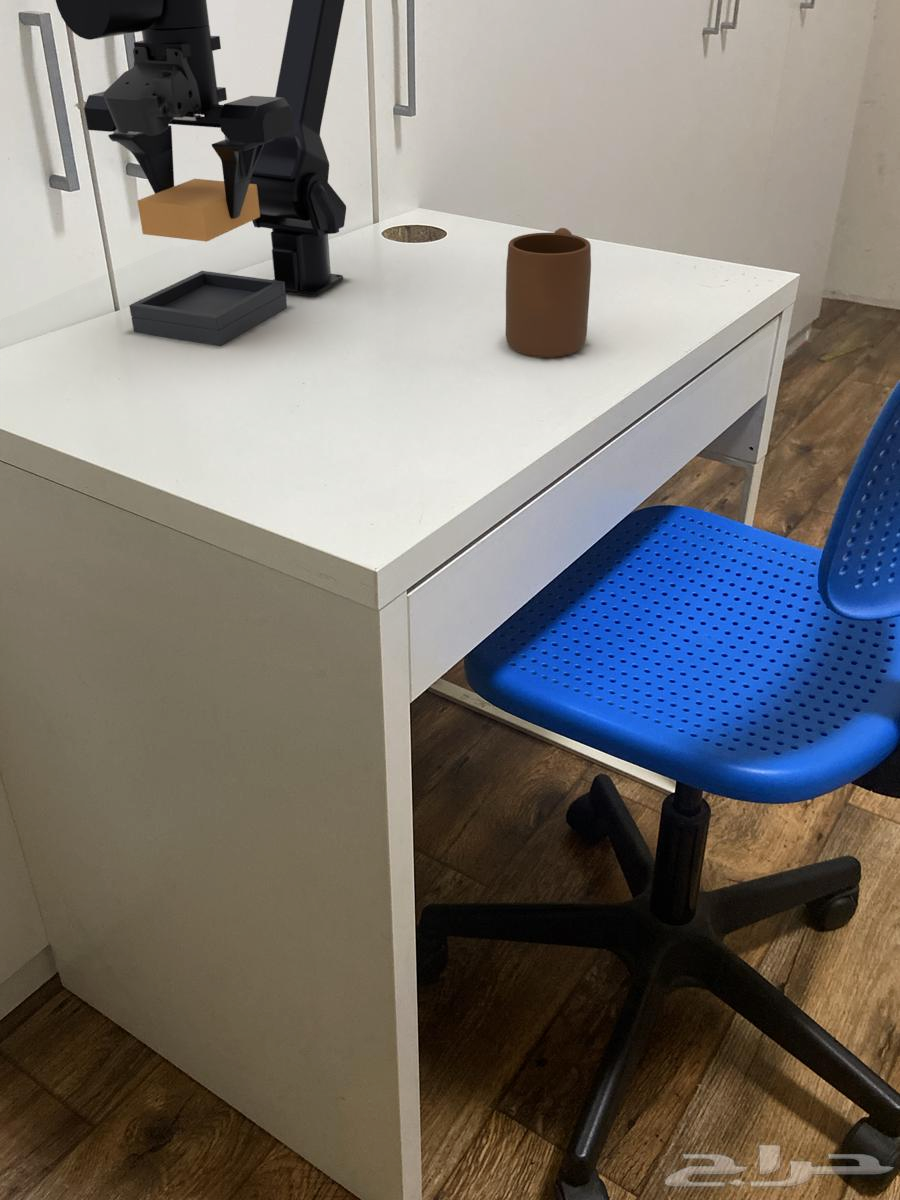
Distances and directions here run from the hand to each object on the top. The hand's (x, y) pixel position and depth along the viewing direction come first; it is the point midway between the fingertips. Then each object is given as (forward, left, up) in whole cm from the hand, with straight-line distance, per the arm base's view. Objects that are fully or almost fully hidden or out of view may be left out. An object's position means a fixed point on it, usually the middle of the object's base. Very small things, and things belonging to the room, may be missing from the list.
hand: (201, 214), depth 102 cm
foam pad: (0, 0, -1) cm, 1 cm away
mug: (-10, +31, -11) cm, 35 cm away
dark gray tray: (-2, -2, -11) cm, 11 cm away
